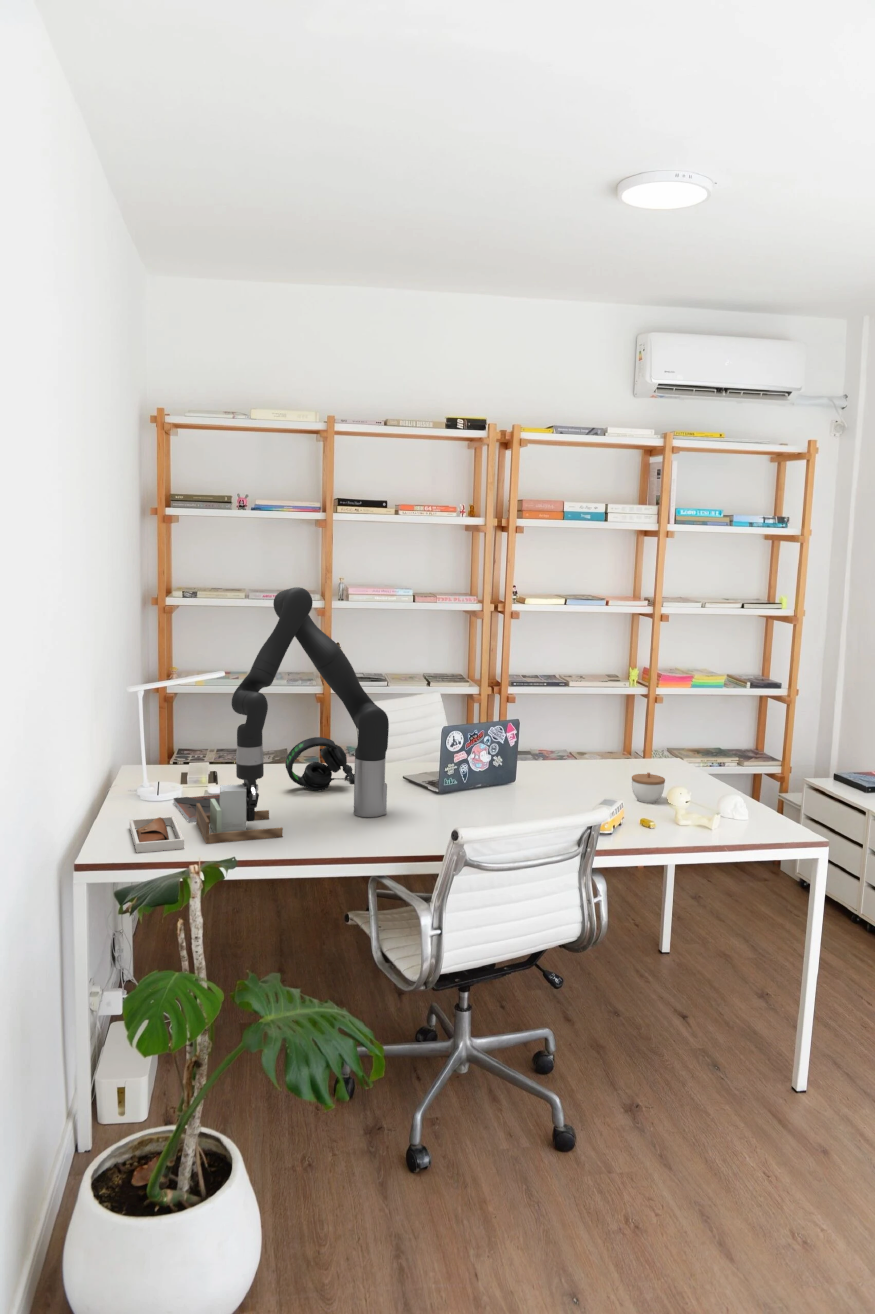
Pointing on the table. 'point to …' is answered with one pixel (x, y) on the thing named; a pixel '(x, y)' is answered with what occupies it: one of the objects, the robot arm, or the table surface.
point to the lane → (204, 823)
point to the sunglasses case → (153, 831)
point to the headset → (319, 764)
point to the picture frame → (194, 805)
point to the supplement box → (233, 807)
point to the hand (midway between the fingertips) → (250, 820)
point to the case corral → (156, 845)
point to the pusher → (215, 816)
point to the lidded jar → (647, 787)
